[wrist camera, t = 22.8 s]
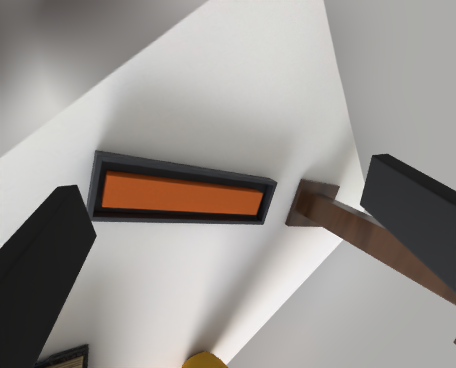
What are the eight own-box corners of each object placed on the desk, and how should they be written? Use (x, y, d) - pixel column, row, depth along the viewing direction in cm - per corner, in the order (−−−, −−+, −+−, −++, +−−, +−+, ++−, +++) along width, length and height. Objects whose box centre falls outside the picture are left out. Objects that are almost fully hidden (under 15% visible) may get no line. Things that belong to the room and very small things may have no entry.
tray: (85, 213, 32) (86, 221, 30) (95, 150, 30) (96, 154, 28) (256, 219, 47) (263, 224, 46) (269, 178, 46) (277, 182, 44)
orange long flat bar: (100, 199, 32) (102, 207, 30) (105, 169, 31) (107, 175, 29) (248, 209, 45) (256, 214, 43) (255, 188, 44) (263, 193, 42)
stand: (281, 224, 52) (469, 354, 27) (297, 178, 49) (518, 275, 25) (323, 225, 59) (498, 326, 35) (338, 185, 57) (537, 264, 33)
